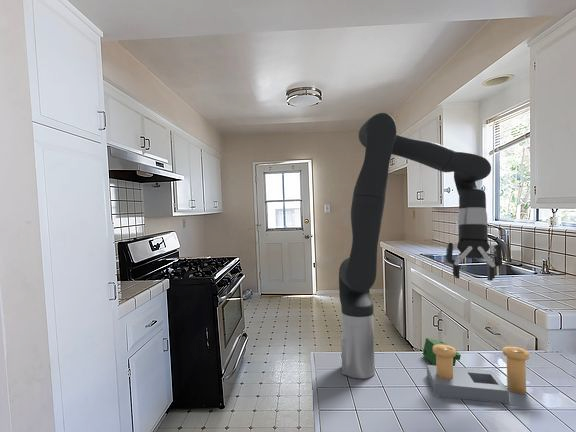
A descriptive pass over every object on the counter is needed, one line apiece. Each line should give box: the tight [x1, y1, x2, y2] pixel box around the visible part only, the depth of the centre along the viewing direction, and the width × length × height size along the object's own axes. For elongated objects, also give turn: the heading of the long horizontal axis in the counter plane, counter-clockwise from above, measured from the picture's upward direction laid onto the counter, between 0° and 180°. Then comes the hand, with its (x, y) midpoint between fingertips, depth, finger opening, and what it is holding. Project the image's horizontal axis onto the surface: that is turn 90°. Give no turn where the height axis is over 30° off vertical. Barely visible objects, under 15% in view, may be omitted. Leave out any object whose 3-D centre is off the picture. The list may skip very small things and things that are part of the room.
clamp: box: [422, 337, 462, 367], centre depth 100 cm, size 12×6×9 cm, turn 175°
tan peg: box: [502, 346, 530, 395], centre depth 84 cm, size 6×6×10 cm
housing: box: [426, 344, 510, 404], centre depth 85 cm, size 16×11×10 cm, turn 77°
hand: (473, 279), depth 95 cm, fingers open, 8 cm apart
